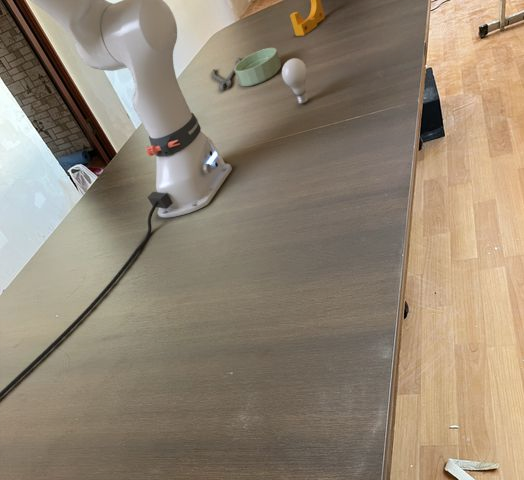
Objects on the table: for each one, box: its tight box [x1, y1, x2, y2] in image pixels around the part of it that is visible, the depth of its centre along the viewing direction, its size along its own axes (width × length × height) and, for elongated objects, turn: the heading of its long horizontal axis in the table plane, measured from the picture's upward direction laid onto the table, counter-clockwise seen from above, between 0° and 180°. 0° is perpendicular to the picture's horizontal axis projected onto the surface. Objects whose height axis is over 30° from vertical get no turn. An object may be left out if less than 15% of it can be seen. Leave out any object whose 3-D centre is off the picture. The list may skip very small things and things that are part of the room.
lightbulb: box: [281, 57, 309, 105], centre depth 126 cm, size 6×6×11 cm
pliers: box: [211, 57, 242, 92], centre depth 168 cm, size 11×1×25 cm
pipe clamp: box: [289, 0, 326, 37], centre depth 167 cm, size 12×4×6 cm, turn 130°
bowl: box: [233, 47, 282, 87], centre depth 154 cm, size 14×14×5 cm
